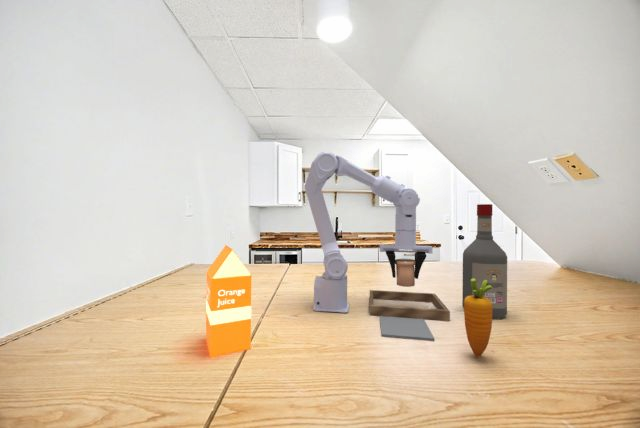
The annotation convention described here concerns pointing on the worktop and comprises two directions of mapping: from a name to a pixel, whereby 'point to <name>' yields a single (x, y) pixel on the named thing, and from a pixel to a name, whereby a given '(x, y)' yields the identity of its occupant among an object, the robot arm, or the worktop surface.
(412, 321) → the potting mat
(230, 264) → the orange juice
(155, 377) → the worktop surface
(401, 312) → the cold frame
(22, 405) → the worktop surface
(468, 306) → the carrot
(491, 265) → the liquor
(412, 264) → the terracotta pot
